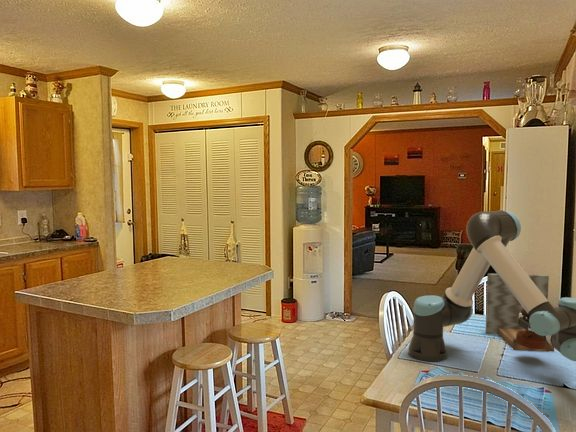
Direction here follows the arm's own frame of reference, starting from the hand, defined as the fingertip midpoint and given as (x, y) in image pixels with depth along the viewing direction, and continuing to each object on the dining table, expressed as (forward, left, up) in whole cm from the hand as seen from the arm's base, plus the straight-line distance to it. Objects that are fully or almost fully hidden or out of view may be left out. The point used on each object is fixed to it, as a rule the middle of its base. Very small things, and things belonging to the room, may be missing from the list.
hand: (530, 316), depth 188 cm
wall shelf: (+5, +17, -17) cm, 24 cm away
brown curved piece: (0, -3, -11) cm, 11 cm away
